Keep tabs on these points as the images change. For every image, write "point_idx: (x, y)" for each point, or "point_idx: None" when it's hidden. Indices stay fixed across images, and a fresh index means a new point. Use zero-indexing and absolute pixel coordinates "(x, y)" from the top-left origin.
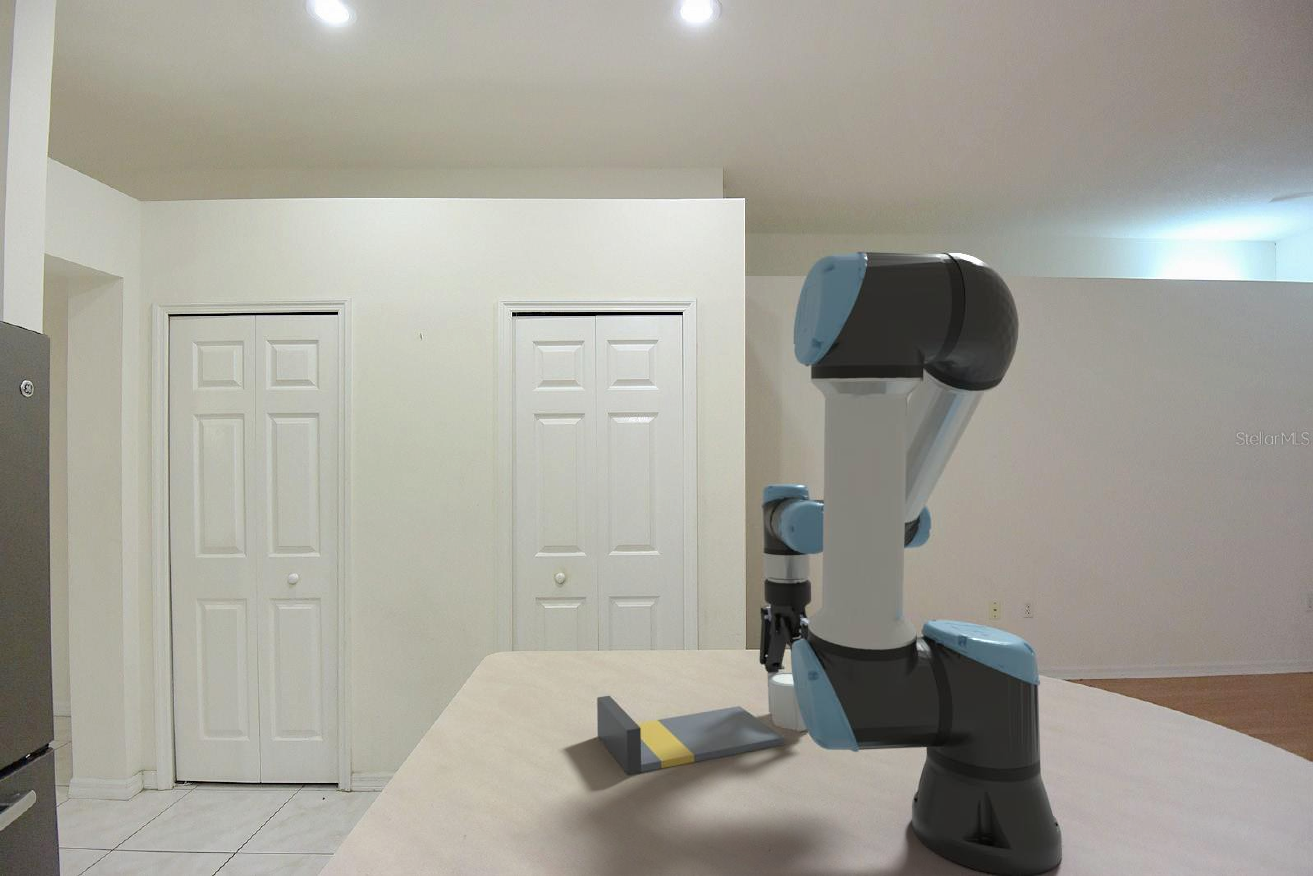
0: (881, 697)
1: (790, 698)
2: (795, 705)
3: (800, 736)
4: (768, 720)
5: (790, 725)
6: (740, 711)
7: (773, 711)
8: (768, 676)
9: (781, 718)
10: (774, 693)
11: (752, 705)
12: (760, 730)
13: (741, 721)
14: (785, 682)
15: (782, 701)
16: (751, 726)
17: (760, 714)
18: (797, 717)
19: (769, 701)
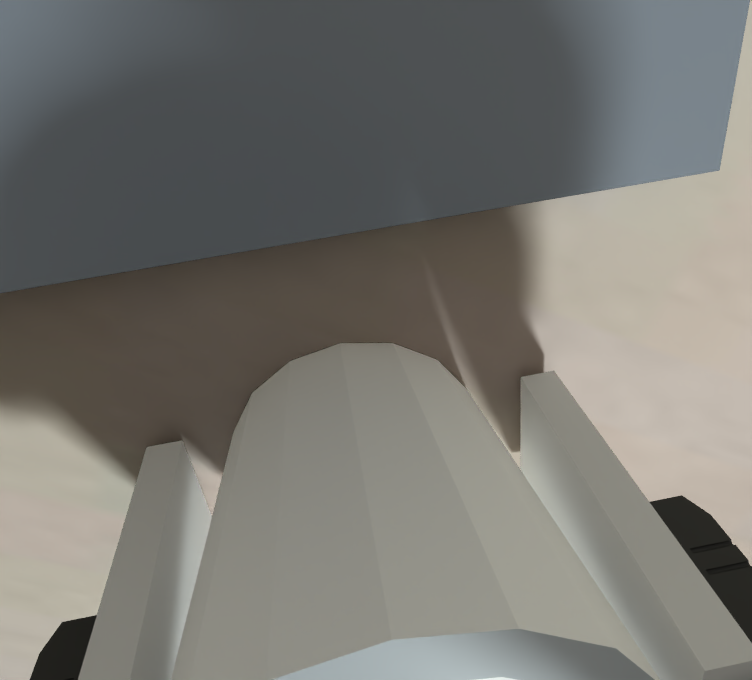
0: None
1: (188, 624)
2: (147, 598)
3: (88, 434)
4: (434, 323)
5: (238, 430)
6: (602, 129)
7: (366, 393)
8: (721, 621)
9: (271, 409)
10: (327, 535)
11: (744, 306)
12: (61, 146)
13: (349, 30)
14: None
15: (240, 532)
16: (184, 90)
17: (565, 305)
18: (132, 521)
19: (577, 427)
